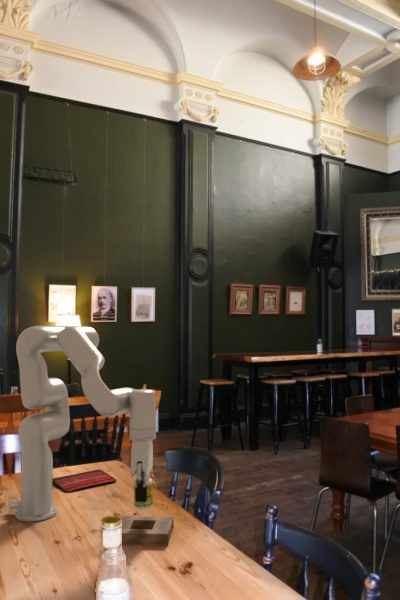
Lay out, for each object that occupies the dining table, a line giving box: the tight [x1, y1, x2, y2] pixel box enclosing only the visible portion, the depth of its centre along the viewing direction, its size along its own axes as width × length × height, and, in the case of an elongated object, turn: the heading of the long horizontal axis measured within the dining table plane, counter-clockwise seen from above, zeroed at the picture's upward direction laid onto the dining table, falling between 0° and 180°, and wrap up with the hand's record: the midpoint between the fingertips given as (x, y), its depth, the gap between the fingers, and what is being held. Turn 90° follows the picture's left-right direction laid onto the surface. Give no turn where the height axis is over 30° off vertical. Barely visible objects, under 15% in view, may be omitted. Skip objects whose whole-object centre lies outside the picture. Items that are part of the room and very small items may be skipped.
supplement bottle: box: [133, 472, 154, 510], centre depth 136 cm, size 5×5×10 cm
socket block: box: [119, 515, 175, 546], centre depth 136 cm, size 16×12×3 cm
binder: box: [52, 469, 117, 494], centre depth 185 cm, size 16×2×21 cm
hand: (143, 497), depth 136 cm, fingers closed on supplement bottle, 5 cm apart
